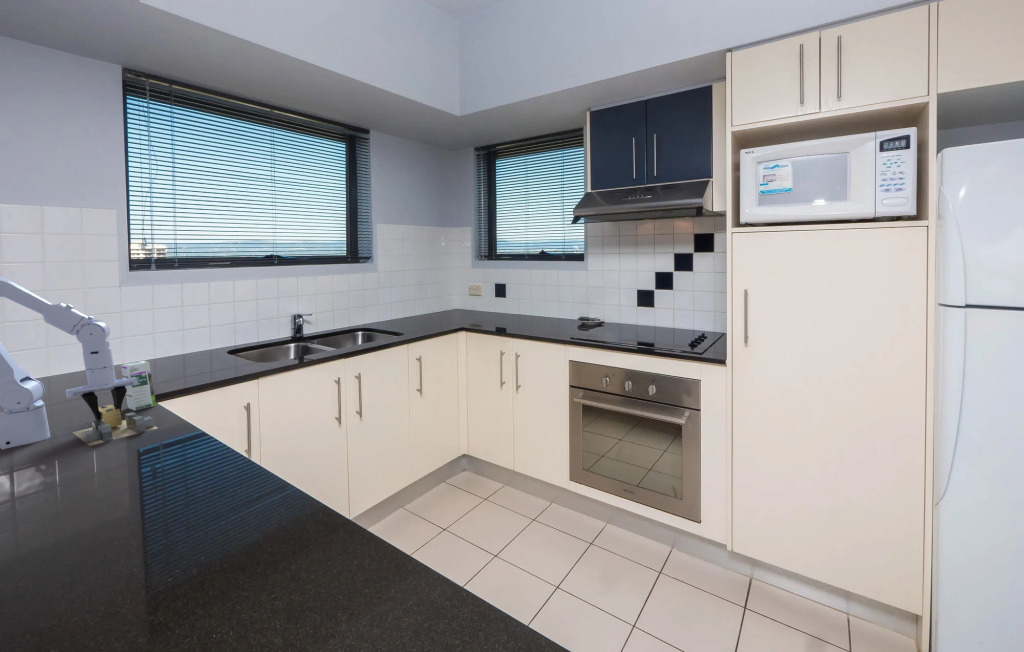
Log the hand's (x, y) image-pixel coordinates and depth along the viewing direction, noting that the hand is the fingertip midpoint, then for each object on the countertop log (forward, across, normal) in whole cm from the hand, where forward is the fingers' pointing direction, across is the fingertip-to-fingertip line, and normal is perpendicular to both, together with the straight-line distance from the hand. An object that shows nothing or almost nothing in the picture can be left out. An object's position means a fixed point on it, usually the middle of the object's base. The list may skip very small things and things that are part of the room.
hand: (108, 417), depth 132 cm
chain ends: (+3, 0, -10) cm, 10 cm away
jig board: (+3, 0, -5) cm, 6 cm away
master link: (+2, 0, 0) cm, 2 cm away
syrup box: (+4, +12, +16) cm, 20 cm away
